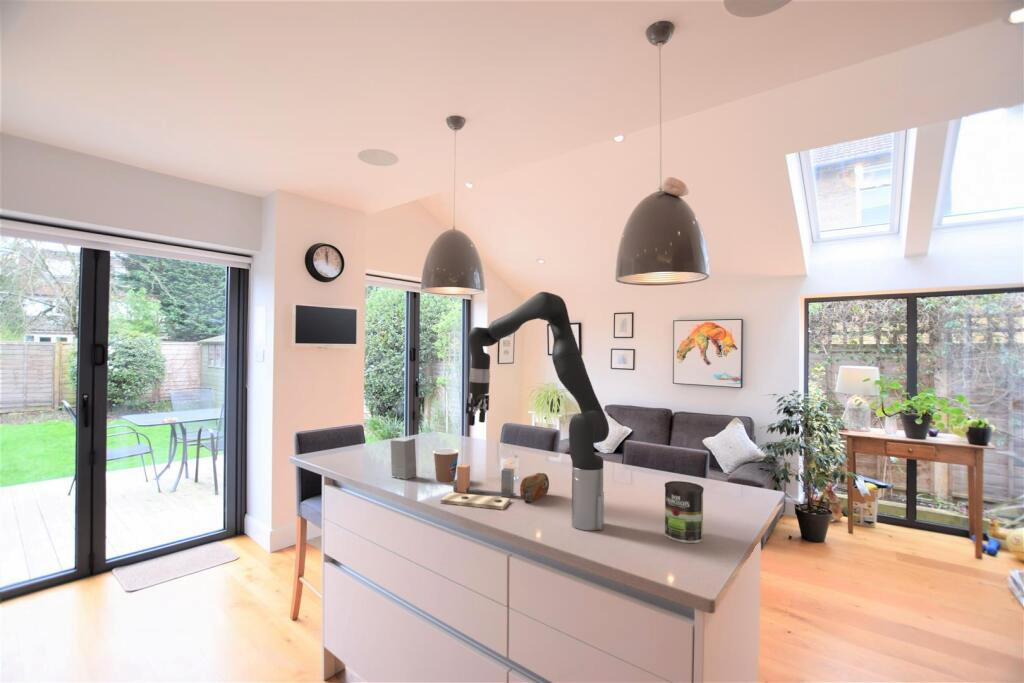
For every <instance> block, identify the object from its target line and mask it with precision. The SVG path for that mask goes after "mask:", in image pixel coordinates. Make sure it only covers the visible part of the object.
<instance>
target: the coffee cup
mask: <svg viewBox="0 0 1024 683" xmlns="http://www.w3.org/2000/svg"><path fill="white" fill-rule="evenodd" d="M459 452H460V450H459V449H456V448H455V449H454V448H438V449H435V450H433V458H434V459H433V460H434V467H435V470H434V471H435V478H436V483H438V482H439V483H438V484H442V483H447V484H452V483H454V482H455V479H456V476H457V467H458V459H459ZM451 482H452V483H451Z"/></svg>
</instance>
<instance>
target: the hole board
mask: <svg viewBox="0 0 1024 683" xmlns="http://www.w3.org/2000/svg"><path fill="white" fill-rule="evenodd" d="M440 502H441V503H440V504H443V503H449V504H448V505H452V504H458V505H457V506H462V505H465V506H464V507H471V506H474V507H473V508H480V507H483V509H489V508H491V509H492V510H498V509H501V510H502V511H503V510H504V509H505V508H506V507H507V506H508V505H509V504H510V503H511V498H508V497H501V496H492V495H482V494H473V493H462V492H450V493H448V494H447V495H445V496H443V497H442V498H441V499H440ZM491 509H490V510H491Z"/></svg>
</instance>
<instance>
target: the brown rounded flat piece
mask: <svg viewBox="0 0 1024 683" xmlns="http://www.w3.org/2000/svg"><path fill="white" fill-rule="evenodd" d="M519 489H520V490H519V494H520V497H521V499H522V500H523V501H524V502H528V503H534V502H536V501H538V500H540V499H543V498H545V496H546V495H548V493H549V492H548V491H549V489H550V481H549V477H548V475H547V474H546V473H544V472H543V473H542V472H537V473H535V474H532V475H528V476H526V477H524V478H523V479H522V481H521V482H520V487H519ZM542 497H543V498H542ZM535 500H536V501H535Z"/></svg>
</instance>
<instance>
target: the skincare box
mask: <svg viewBox="0 0 1024 683" xmlns="http://www.w3.org/2000/svg"><path fill="white" fill-rule="evenodd" d="M416 456H417V455H416V438H413V437H412V438H411V437H410V438H408V437H397V438H394V439H391V440H390V459H391V460H390V464H391V465H390V466H391V477H392V476H394V477H399V478H403V479H402V480H405V479H406V480H408V478H409V479H413V478H416V477H417V459H416V458H417V457H416ZM415 476H416V477H415ZM412 477H413V478H412ZM399 478H398V479H399Z"/></svg>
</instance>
